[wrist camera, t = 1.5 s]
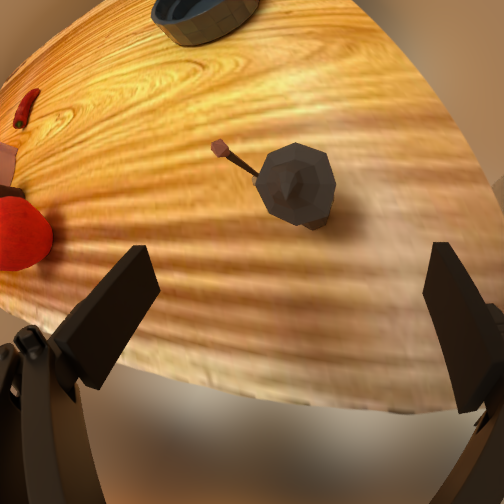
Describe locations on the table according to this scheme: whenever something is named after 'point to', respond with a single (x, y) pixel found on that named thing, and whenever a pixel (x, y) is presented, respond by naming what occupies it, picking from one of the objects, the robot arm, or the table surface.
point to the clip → (7, 163)
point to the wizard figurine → (291, 183)
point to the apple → (22, 234)
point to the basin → (200, 18)
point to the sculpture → (11, 192)
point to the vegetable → (24, 109)
